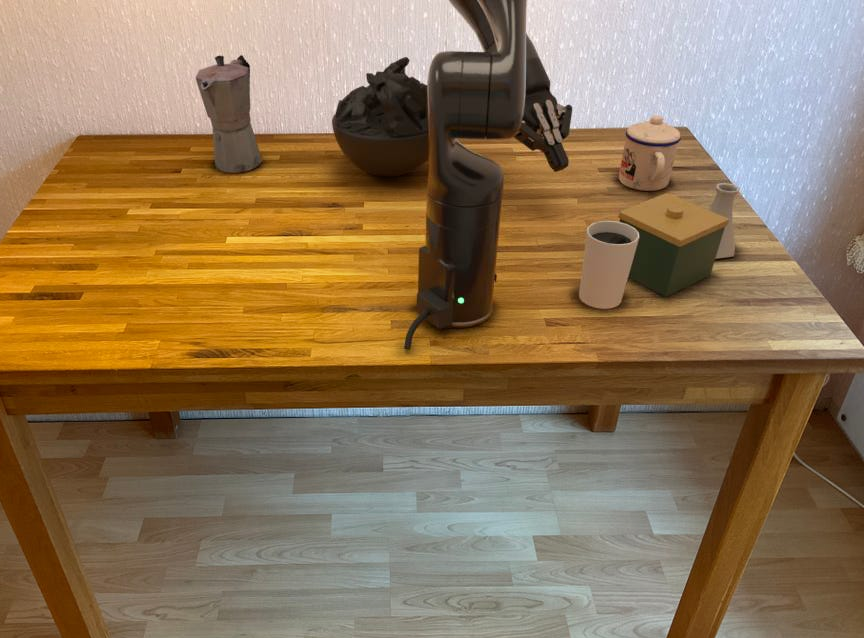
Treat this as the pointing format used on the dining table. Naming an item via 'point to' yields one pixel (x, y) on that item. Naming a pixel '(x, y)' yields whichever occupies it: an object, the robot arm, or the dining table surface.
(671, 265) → the tea tin
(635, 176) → the teacup with lid
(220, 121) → the moka pot
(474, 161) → the robot arm
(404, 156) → the bowl of black rocks
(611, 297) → the white tumbler cup
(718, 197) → the flask
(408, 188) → the dining table surface
